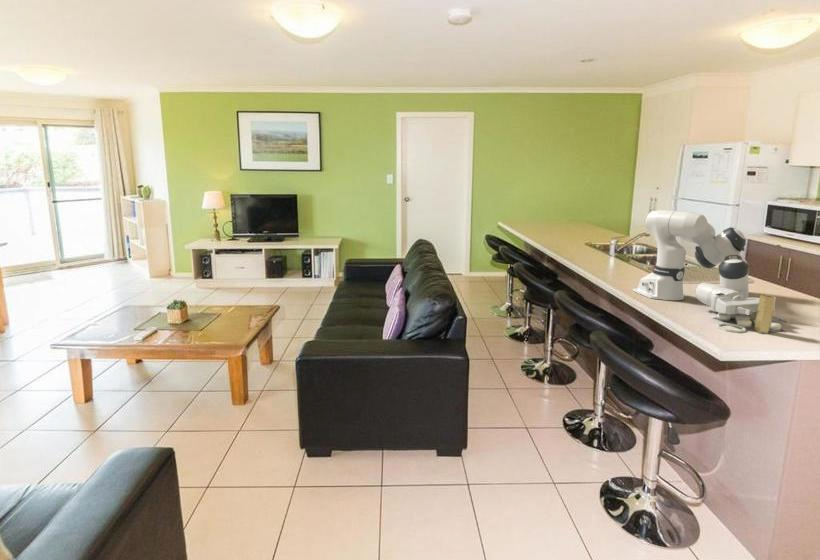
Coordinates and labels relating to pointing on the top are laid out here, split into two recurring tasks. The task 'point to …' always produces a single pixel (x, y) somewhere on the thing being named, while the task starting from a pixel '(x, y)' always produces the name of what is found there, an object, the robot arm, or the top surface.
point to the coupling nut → (765, 313)
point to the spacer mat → (746, 322)
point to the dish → (730, 329)
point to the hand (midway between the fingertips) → (762, 312)
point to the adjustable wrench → (775, 319)
